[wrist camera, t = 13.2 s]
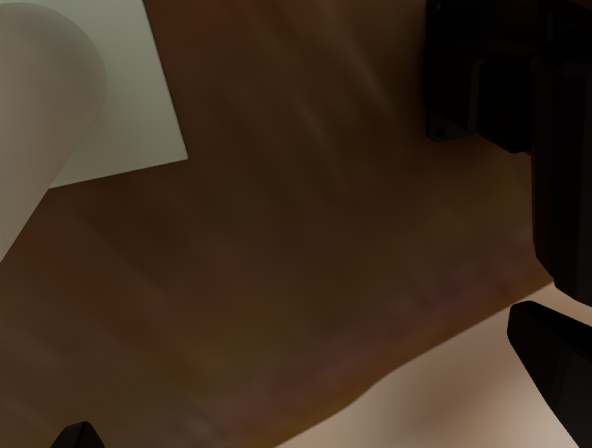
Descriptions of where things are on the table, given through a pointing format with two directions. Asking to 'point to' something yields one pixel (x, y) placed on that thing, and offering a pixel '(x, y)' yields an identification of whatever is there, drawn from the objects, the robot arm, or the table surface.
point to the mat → (122, 94)
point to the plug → (41, 105)
